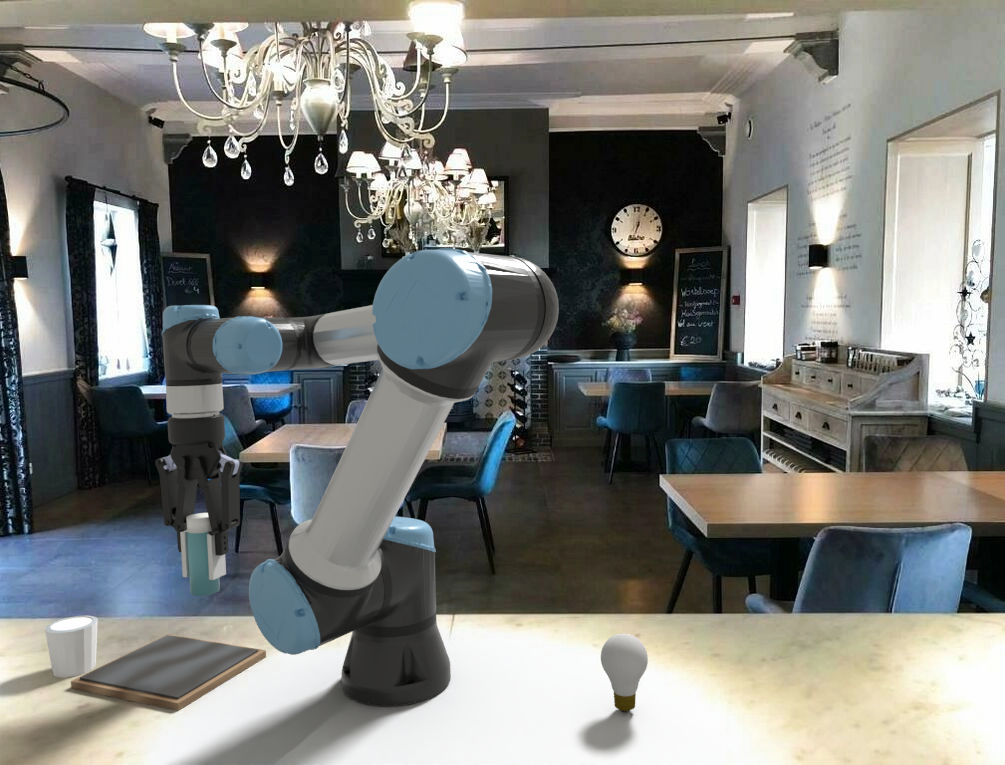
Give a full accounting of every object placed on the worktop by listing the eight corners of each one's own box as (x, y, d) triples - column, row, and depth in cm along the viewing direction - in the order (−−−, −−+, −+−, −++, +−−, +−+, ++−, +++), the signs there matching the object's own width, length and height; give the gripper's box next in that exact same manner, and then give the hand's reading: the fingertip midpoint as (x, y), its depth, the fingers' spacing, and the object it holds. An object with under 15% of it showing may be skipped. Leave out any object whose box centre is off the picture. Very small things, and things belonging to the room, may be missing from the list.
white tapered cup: (77, 680, 111) (74, 633, 111) (36, 677, 113) (33, 630, 112) (110, 660, 118) (108, 615, 118) (71, 657, 119) (68, 613, 119)
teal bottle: (225, 587, 113) (222, 513, 112) (207, 596, 109) (203, 520, 108) (203, 585, 114) (199, 512, 114) (184, 594, 110) (180, 518, 110)
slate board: (266, 656, 118) (265, 648, 118) (178, 710, 102) (178, 700, 102) (167, 640, 125) (167, 632, 125) (71, 688, 109) (70, 679, 109)
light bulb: (637, 727, 95) (636, 648, 94) (593, 716, 98) (592, 638, 97) (655, 707, 100) (654, 631, 99) (613, 696, 103) (611, 623, 102)
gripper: (262, 412, 111) (270, 572, 112) (167, 410, 116) (175, 563, 118) (228, 418, 104) (237, 589, 105) (128, 416, 109) (137, 578, 111)
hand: (204, 575), depth 112 cm, fingers closed on teal bottle, 4 cm apart
